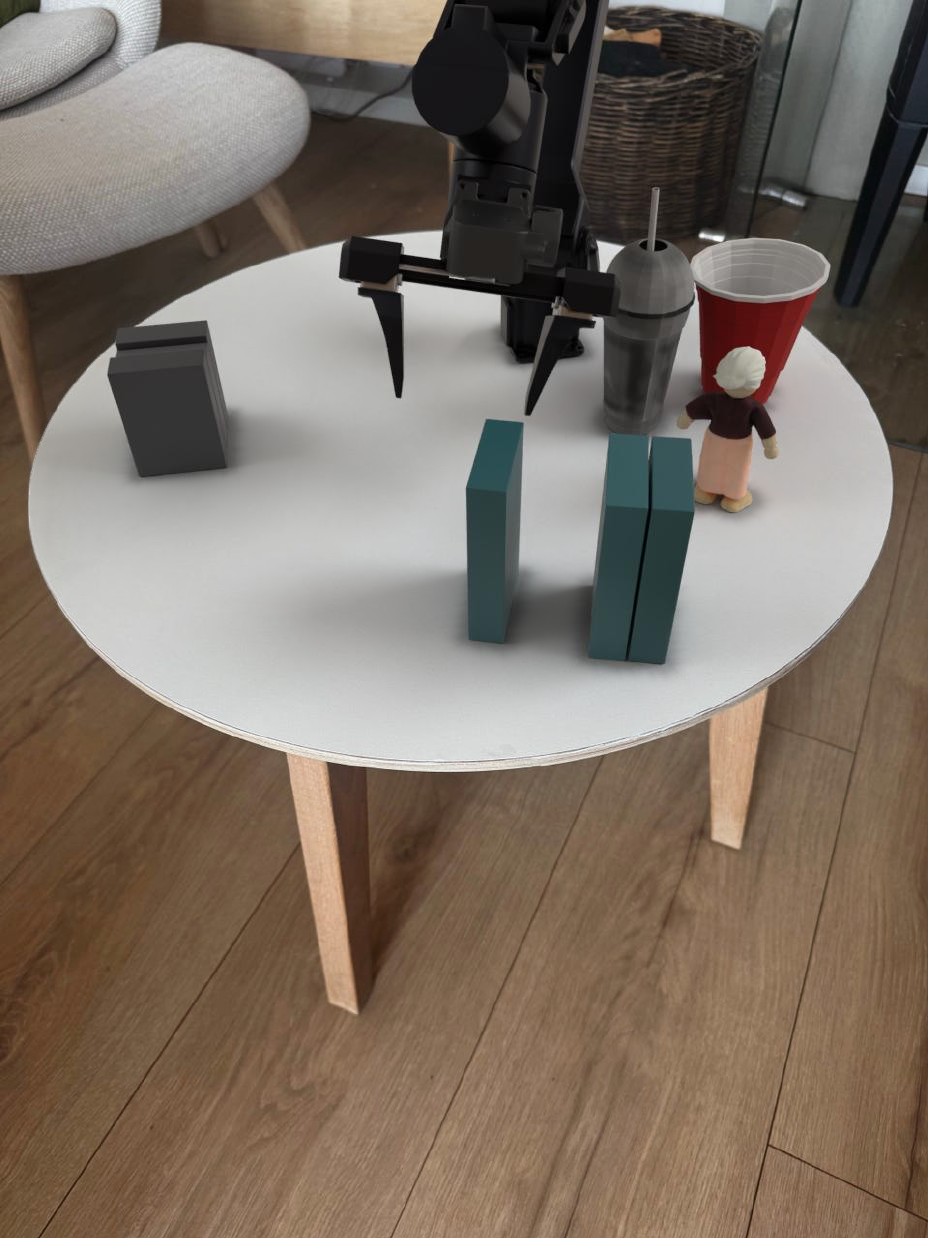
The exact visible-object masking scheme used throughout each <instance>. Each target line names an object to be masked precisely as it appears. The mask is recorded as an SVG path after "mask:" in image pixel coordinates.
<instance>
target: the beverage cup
mask: <svg viewBox="0 0 928 1238" xmlns="http://www.w3.org/2000/svg"><path fill="white" fill-rule="evenodd" d="M659 199H660V187H653V188H652V189H651V200H650V212H649V213H650V214H649V222H648V232H647V233H648V235H647V237H646V238H640V239H638V240H635V241H632V242H631V243H628V244H627V245H625V246H624V247H623V248H622V249H620V250H619V251H618V253H616V254H615V255H614V257H612V259H611V260H610V262H609V264H608V266H607V268H606V271H605V273H611V274H615V275H616V277H617V278H618V280H619V282H620V283H621V295H620V301H619V307H618V313H617V318H602V321H603V407H604V408H603V409H604V424H605V425H606V427H607V428H608V430H611V431H612V432H614V433H615V434H630V435H646V436H647V435H649V434H650V433H652V432H654V431H655V430H656V429H657V428H658V424H659V420H660V416H661V413H662V411H663V407H664V404H665V399H666V396H667V393H668V392H667V391H668V387H669V383H670V380H671V375H672V372H673V368H674V364H675V361H676V360H675V359H676V356H677V351H678V349H679V343H680V340H681V336H682V332H683V329H684V328H685V326H686V323H687V321H688V319H689V316H690V312H691V309H692V307H693V306H694V304H695V300H696V293H695V287H696V285H695V282H694V276H693V272H692V269H691V267H690V264H691V263H690V262H689V260H688V258H687V256H686V255H685V253H684V252H682V250H681V249H680V248H678V246H676V245H675V244H673V243H671V242H670V241H668V240H665V239H662V238H656V231H657V221H658V211H659V210H658V209H659Z"/></svg>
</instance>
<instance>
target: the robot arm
mask: <svg viewBox="0 0 928 1238" xmlns="http://www.w3.org/2000/svg"><path fill="white" fill-rule="evenodd" d="M609 5H610V0H446V2H445V4H444V6H443V9H442V11H441V15H440V16H439V19H438V22H437V23H436V26H435V29H434V31H433V34H432V38H431V39H430V40H429V41H428V42H427V43H426V44H425V45H424V47H423V49H422V50H421V52H420V53H419V55H418V58H417V60H416V63H415V64H414V65H413V68H412V73H411V94H412V97H413V98H412V99H413V103H414V105H415V107H416V109H417V111H418V113H419V115H420V117H421V118H422V119H423V120H424V121H425V123H426V125H428V126H430V127H431V128H432V129H433V130H435V131H436V132H437V133H439V134H440V135H441V136H443V138H445V139H446V140H447V141H449V142H450V143H451V144H453V154H452V162H451V169H450V178H449V184H448V195H447V202H446V210H445V216H444V218H443V224H442V225H443V227H442V233H441V242H440V243H441V244H440V251H439V258H440V259H438V258H432V257H425V256H419V255H412V254H405V246H404V244H403V242H398V241H392V240H391V241H390V240H384V239H379V238H378V239H377V238H370V237H363V236H356V235H351V236H349V238H347V239H346V240H344V242H343V243H342V244H341V250H340V259H339V269H338V279H340V280H342V281H345V282H348V283H353V284H354V283H355V284H360V286H358V287H357V296H359V297H362V298H366V299H371V300H372V303H373V305H374V309H375V312H376V314H377V317H378V321H379V323H380V327H381V330H382V333H383V337H384V342H385V347H386V352H387V356H388V357H387V358H388V363H389V368H390V373H391V378H392V385H393V390H394V397H395V398H396V399H402V397H403V390H404V382H405V302H404V301H405V295H404V294H402V293H401V292H399V290H400V289H399V288H400V287H403V285H404V283H411V284H418V285H425V286H431V287H438V288H446V289H453V290H459V291H466V292H473V293H481V294H485V295H494V296H500V320H499V321H500V325H499V328H500V329H499V333H500V336H501V337H502V340H503V342H504V344H505V346H506V347H507V348H508V349H509V350H510V352H511V353H512V355H513V358H514V360H515V361H516V362H517V363H528V362H529V363H530V362H533V365H532V369H531V373H530V376H529V381H528V384H527V388H526V393H525V402H524V408H523V409H524V410H523V415H524V416H525V417H530V416H532V415H533V411H534V410H535V407H536V405H537V404H538V402H539V399H540V397H541V395H542V393H543V391H544V389H545V387H546V385H547V383H548V381H549V379H550V377H551V375H552V372H553V370H554V368H555V366H556V364H557V362H558V361H559V359H560V358H566V357H573V356H581V355H583V354H584V353H585V347H584V345H583V342H582V341H581V339H580V329H587V330H590V329H591V330H592V329H595V327H596V324H597V320H593V318H600V319H603V318H617V313H618V307H619V301H620V295H621V283H620V282H619V280H618V278H617V277H616V275H615V274H611V273H606V271H605V272H603V271H601V260H600V253H599V251H600V250H599V245H598V241H597V237H596V233H595V230H594V227H593V226H590V224H591V219H592V218H591V217H592V211H591V208H590V205H589V202H588V199H587V196H586V194H585V190H584V188H583V185H582V181H581V179H580V173H581V167H582V162H583V161H582V160H583V156H584V149H585V144H586V138H587V132H588V128H589V127H588V126H589V122H590V121H589V120H590V114H591V110H592V103H593V98H594V91H595V85H596V81H597V74H598V69H599V63H600V58H601V57H600V56H601V52H602V46H603V41H604V40H603V39H604V34H605V28H606V22H607V17H608V12H609V7H610V6H609ZM528 64H533V65H534V64H535V65H543V67H542V73H541V79H540V83H539V82H538V80H537V77H536V71H535V69H534V68H527V67H528ZM403 282H404V283H403Z"/></svg>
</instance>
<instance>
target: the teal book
mask: <svg viewBox="0 0 928 1238" xmlns="http://www.w3.org/2000/svg"><path fill="white" fill-rule="evenodd" d="M524 424H525V423H524V422H523V421H513V420H504V419H494V418H485V420H484V424H483V428H482V431H481V434H480V437H479V442H478V444H477V448H476V452H475V456H474V458H473V462H472V466H471V469H470V471H469V475H468V479H467V482H466V485H465V510H466V511H465V515H466V516H465V521H466V522H465V523H466V524H465V526H466V529H465V530H466V578H467V579H466V580H467V581H466V582H467V585H466V586H467V589H466V590H467V628H468V629H467V630H468V631H467V635H468V636H467V638H468V640H471V641H472V640H473V641H479V642H487V643H495V644H502V645H503V644H504V642H505V638H506V634H507V629H508V624H509V620H510V615H511V610H512V607H513V601H514V596H515V591H516V588H517V582H518V578H519V573H520V545H521V544H520V543H521V537H520V536H521V513H522V489H523V488H522V485H523V483H522V481H523V460H524V459H523V456H524V455H523V454H524Z"/></svg>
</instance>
